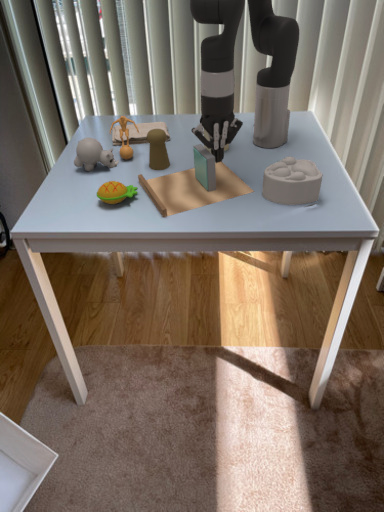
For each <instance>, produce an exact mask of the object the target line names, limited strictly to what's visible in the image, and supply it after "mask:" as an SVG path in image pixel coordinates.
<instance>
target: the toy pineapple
mask: <svg viewBox="0 0 384 512" xmlns="http://www.w3.org/2000/svg"><path fill="white" fill-rule="evenodd" d="M138 189H139V188H138V187H137V186H134V185H133V184H130V185H127V186H126V185H125V184H124V183H122V182H120V181H116V180H109V181H107V182H105V183H104V182H103V184H101V185H100V186H99V187H98V189H97V192H96V197H97V198H98V199H99V200H100V201H101V202H103V203H105V204H107V205H108V204H110V205H117V204H118V203H121V202H123V201H125V199H126V198H133V196H135V195H138Z"/></svg>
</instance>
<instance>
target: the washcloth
mask: <svg viewBox="0 0 384 512" xmlns="http://www.w3.org/2000/svg"><path fill="white" fill-rule="evenodd" d="M135 124H136V126H137V128H138V130H139V133H138V132H137V129H136V128H135V126H134V124H133V123H131V124H127V126H126V129H127V128H128V129H129V137H128V138H129V146H133V145H142V144H143V145H144V144H150V143H149V142H148V140H147V133H148V132H149V131H150V130H152V129H162V130H164V131H165V133H166V135H167V138H166V142H167V141H170V139H171V135H170V133H169V131H168V130H169V129H168V126H167V125H168V124H167V123H166V122H165V121H156V122H155V121H154V122H141V123H135ZM119 129H122V128H121V126H120V124H119V125H113V128H112V130H111V132H112V139H111V141H112V145H113V146H120V147H122V140H121V138H120V131H119ZM122 138H123V140H124V145H127V137H126V135H125V132H123V136H122Z"/></svg>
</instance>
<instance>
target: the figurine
mask: <svg viewBox="0 0 384 512" xmlns="http://www.w3.org/2000/svg"><path fill="white" fill-rule="evenodd" d="M117 123H119V125H120V126H121V128H122V129H119V131H120V138H121V140H122V146H120V149H119V151H118V152H119V153H118V154H119V156H120V158H121V159H123V160H130V159H132V158H133V157H134V149H133V148H132V147H131V145H129V138H128V137H129V129H128V128H127V129H126V126H127V125H128V123H131V124H134V126H135V128H136V129H137V132H138V133H139V130H138V128H137V126H136V124H137V123H136V122H135V120H132V119H129V117H126V116H125V115H121V116H120V117H119V118H117V119H116V120H114V121H113V122H112V123H111V126H110V128H109V135H112V134H111V133H112V128H114V124H117ZM123 132H125V135H126V137H127V145H124V140H123V138H122V136H123Z"/></svg>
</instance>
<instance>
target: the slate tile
mask: <svg viewBox="0 0 384 512" xmlns="http://www.w3.org/2000/svg"><path fill="white" fill-rule="evenodd" d="M192 151H193V161H194V163H193V164H194V168H195V177H196V179H197V180H198V181H199V182H200V183H201V184H202V185H203V186H204V187H205V188H206V189H207V191H208V192H211V191H214V190H216V171H215V163H216V162H215V156H213V155H212V154H211V153H210V152H209V151H208V150H207V149H206V148H205V147H204V144H202V143H199V144H195V145H193V149H192Z"/></svg>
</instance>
